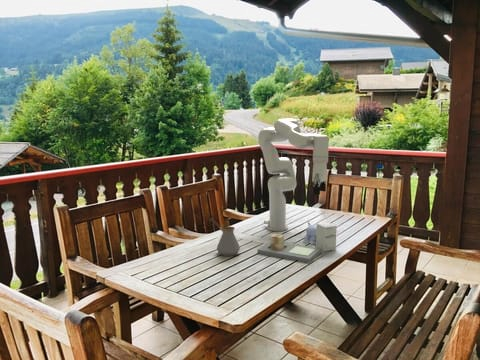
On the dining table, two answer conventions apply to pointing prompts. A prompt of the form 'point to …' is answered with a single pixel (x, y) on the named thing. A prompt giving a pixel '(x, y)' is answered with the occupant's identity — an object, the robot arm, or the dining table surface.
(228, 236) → the coffee pot
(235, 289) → the dining table surface
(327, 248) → the supplement box
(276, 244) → the maple block
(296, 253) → the puzzle board
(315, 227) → the hippopotamus toy
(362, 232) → the dining table surface
